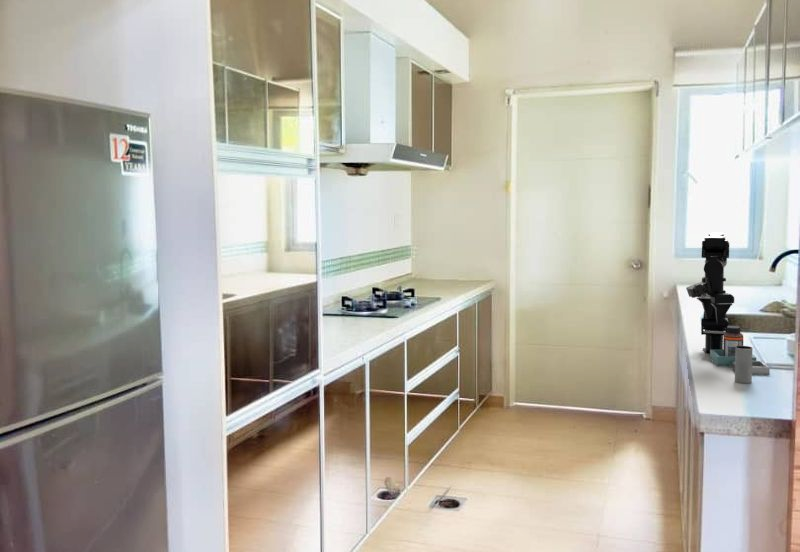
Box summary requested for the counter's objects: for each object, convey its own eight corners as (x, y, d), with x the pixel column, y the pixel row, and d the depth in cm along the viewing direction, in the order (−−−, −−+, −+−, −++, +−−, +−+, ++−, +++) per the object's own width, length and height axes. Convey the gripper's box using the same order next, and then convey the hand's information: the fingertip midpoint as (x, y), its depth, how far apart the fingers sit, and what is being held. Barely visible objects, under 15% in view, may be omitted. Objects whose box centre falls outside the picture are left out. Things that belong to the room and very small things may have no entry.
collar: (730, 367, 237) (730, 360, 236) (761, 367, 235) (761, 360, 234) (736, 373, 228) (737, 366, 227) (769, 374, 226) (769, 367, 225)
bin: (710, 358, 250) (710, 349, 249) (747, 359, 247) (747, 350, 247) (717, 366, 238) (717, 356, 238) (756, 366, 236) (756, 357, 236)
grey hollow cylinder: (732, 379, 220) (732, 345, 219) (747, 379, 220) (748, 345, 219) (738, 383, 216) (739, 348, 215) (754, 383, 216) (755, 348, 215)
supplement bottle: (726, 358, 247) (726, 324, 245) (745, 360, 243) (746, 326, 242) (720, 361, 242) (721, 327, 241) (740, 363, 238) (740, 328, 237)
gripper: (679, 272, 254) (679, 317, 255) (699, 278, 235) (699, 326, 237) (712, 271, 253) (712, 317, 255) (735, 277, 235) (734, 326, 236)
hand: (713, 321), depth 246 cm, fingers open, 9 cm apart
